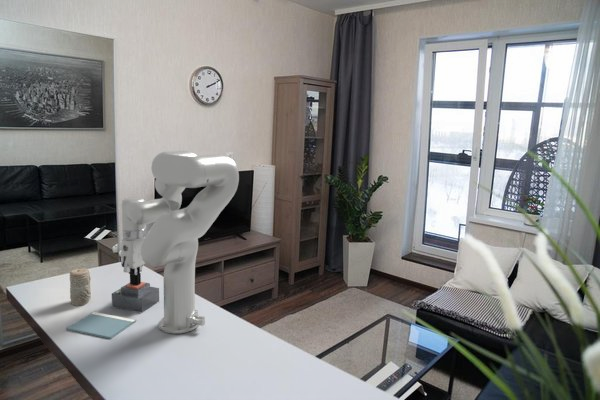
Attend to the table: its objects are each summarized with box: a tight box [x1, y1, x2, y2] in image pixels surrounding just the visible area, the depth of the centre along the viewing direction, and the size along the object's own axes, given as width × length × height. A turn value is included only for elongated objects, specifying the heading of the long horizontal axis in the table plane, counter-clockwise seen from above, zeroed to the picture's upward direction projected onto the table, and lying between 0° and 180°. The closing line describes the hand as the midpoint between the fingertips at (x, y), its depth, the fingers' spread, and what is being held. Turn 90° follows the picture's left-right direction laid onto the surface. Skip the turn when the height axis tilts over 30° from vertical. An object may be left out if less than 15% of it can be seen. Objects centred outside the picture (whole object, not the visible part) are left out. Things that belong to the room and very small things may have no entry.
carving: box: [69, 267, 92, 307], centre depth 150 cm, size 6×8×12 cm
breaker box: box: [111, 281, 160, 314], centre depth 151 cm, size 12×10×7 cm
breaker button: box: [125, 281, 146, 289], centre depth 151 cm, size 5×5×2 cm
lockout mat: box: [66, 311, 137, 340], centre depth 136 cm, size 16×12×1 cm
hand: (135, 283), depth 151 cm, fingers closed
